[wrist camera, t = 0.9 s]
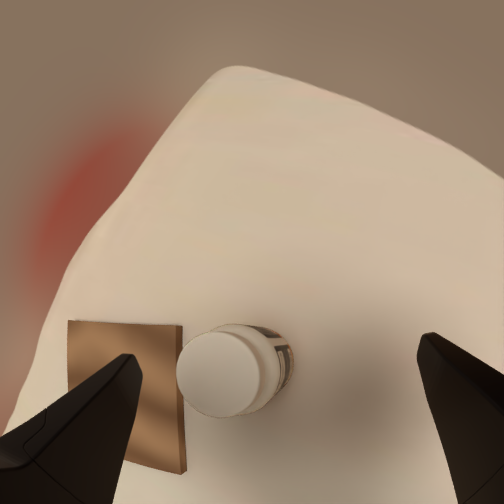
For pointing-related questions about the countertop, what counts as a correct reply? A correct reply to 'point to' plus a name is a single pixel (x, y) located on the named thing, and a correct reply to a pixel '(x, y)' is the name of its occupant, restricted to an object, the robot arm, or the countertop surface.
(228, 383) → the pill bottle
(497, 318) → the countertop surface
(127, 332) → the plinth
